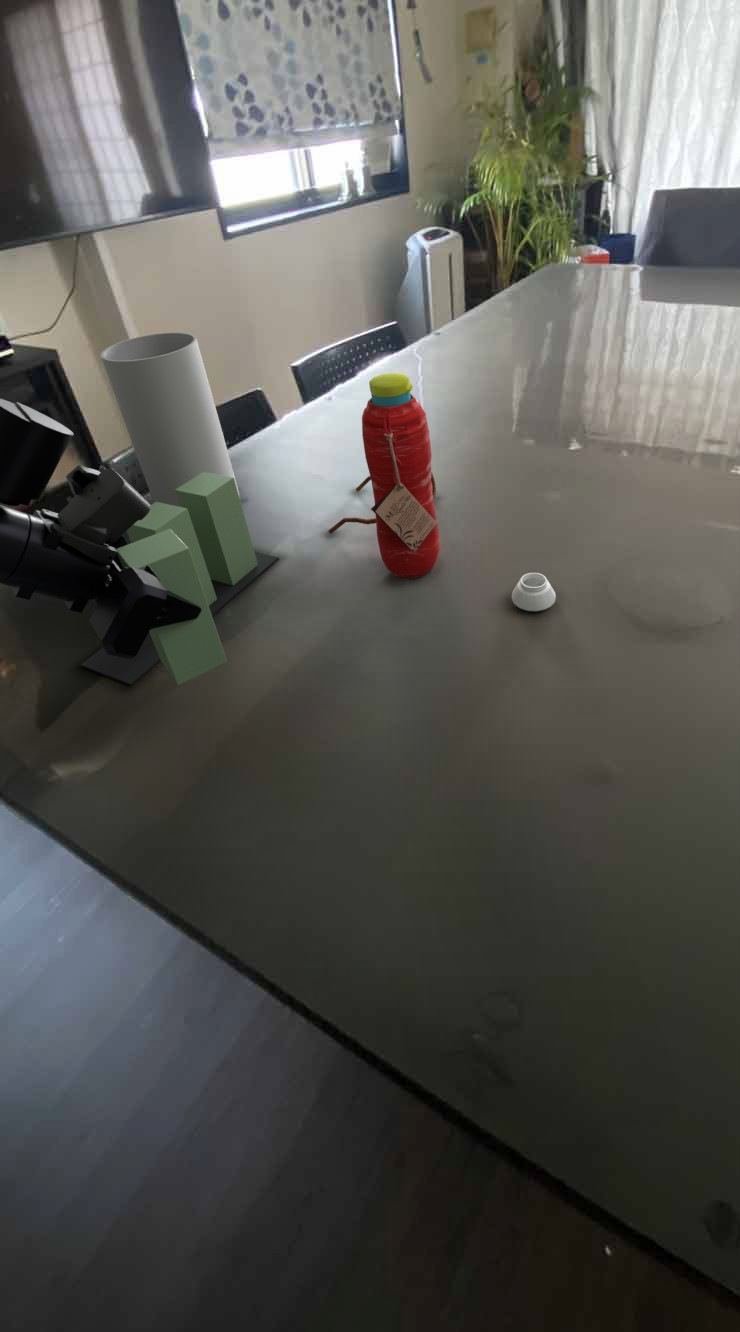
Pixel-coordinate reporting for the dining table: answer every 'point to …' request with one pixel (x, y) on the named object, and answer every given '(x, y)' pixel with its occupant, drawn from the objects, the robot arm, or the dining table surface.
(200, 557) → the middle block
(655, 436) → the dining table surface
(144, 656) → the mat
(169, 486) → the cylinder vase
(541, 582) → the white jar
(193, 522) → the far block
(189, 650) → the block
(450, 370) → the dining table surface
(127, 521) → the robot arm
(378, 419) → the water bottle
